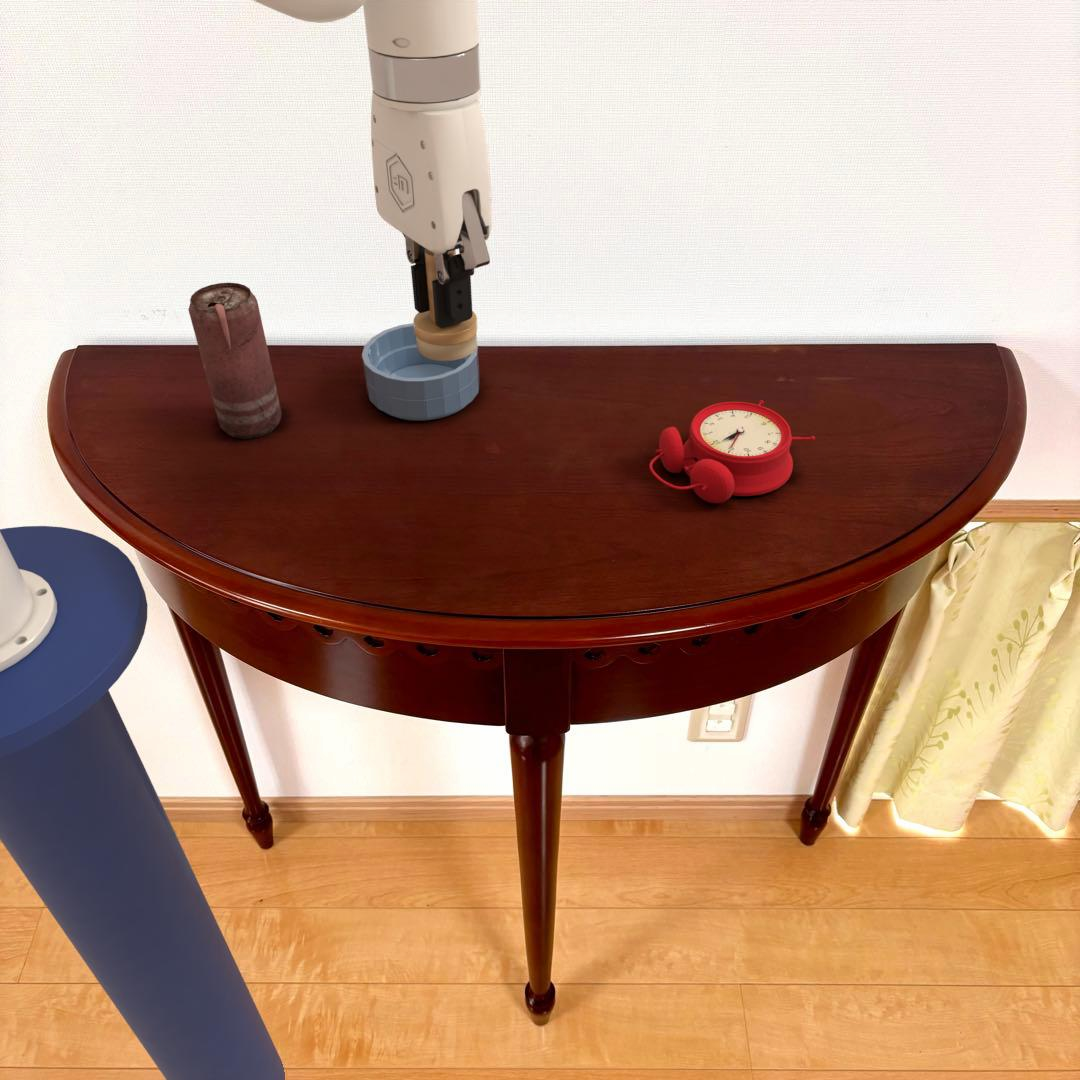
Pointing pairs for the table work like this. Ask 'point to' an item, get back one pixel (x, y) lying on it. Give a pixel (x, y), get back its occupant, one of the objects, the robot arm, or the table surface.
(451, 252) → the dish brush
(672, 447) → the alarm clock
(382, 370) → the bowl
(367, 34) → the robot arm
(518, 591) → the table surface
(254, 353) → the can
